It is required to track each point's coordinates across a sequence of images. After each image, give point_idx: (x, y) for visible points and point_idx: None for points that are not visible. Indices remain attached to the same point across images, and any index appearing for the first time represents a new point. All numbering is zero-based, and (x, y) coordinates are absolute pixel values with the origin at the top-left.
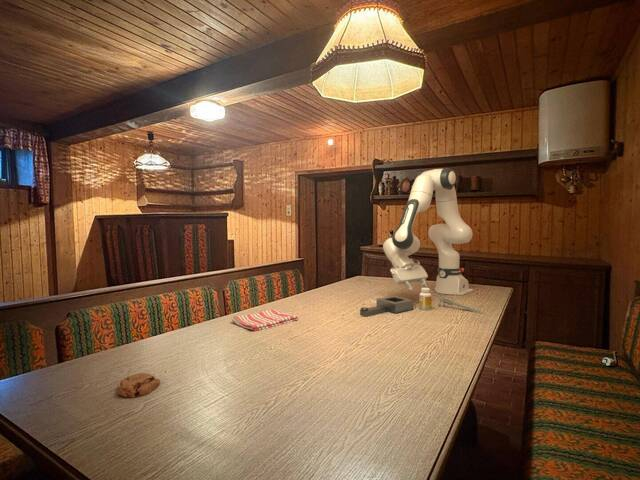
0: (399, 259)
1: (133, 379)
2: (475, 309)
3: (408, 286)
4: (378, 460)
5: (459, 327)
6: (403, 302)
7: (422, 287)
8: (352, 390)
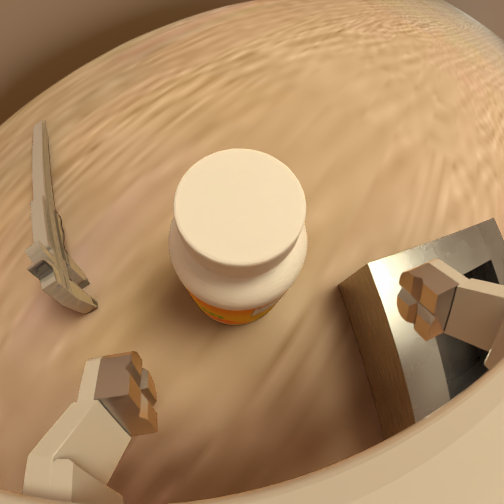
0: None
1: None
2: (42, 128)
3: (472, 302)
4: (460, 11)
5: (276, 36)
6: (452, 234)
7: (154, 403)
8: (488, 44)
